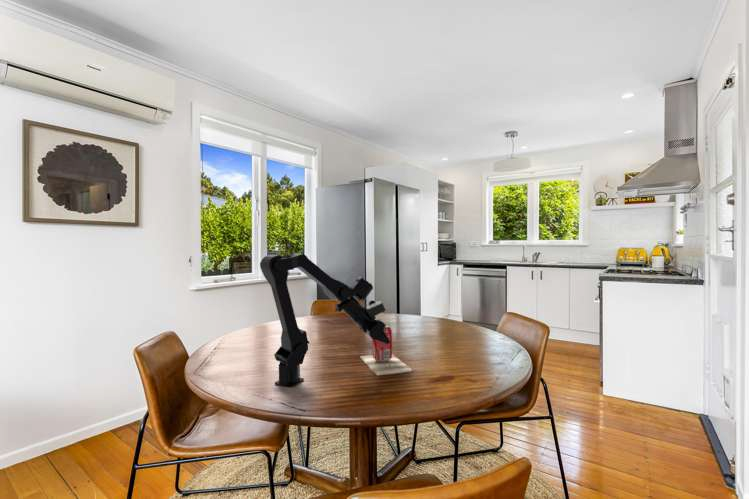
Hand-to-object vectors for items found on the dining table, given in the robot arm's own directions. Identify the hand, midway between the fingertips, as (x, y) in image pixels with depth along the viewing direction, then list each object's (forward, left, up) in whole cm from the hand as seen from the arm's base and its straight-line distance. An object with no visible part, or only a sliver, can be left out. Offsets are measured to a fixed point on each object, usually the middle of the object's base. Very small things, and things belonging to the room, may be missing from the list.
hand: (385, 340), depth 133 cm
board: (-2, 0, -8) cm, 8 cm away
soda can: (-1, +1, -7) cm, 7 cm away
